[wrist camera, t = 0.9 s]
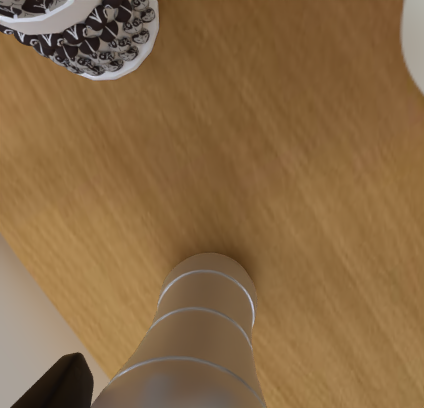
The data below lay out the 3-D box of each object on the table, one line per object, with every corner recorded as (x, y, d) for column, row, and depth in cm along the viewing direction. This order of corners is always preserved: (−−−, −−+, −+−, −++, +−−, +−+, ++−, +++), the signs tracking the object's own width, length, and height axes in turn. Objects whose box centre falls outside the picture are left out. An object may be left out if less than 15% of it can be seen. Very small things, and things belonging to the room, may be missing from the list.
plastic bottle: (257, 323, 24) (368, 1032, 4) (171, 327, 25) (-73, 981, 5) (251, 242, 23) (355, 666, 4) (162, 248, 24) (-168, 648, 4)
